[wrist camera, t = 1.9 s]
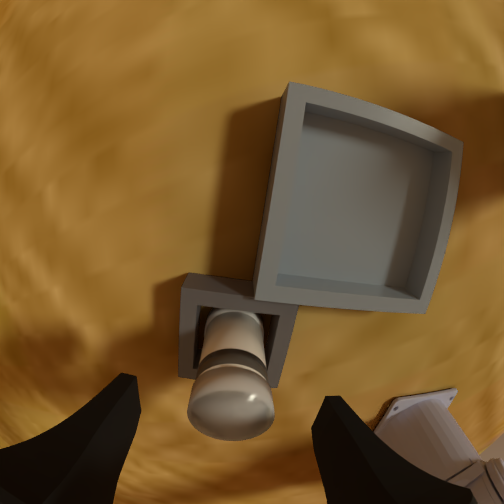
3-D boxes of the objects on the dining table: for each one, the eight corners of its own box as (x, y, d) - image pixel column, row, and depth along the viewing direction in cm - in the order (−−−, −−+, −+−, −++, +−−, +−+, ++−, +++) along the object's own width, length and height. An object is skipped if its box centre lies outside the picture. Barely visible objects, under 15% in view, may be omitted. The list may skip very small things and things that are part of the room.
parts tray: (404, 295, 16) (425, 313, 13) (252, 279, 15) (254, 299, 13) (437, 143, 13) (463, 142, 11) (281, 96, 12) (289, 81, 10)
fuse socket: (273, 366, 17) (277, 388, 15) (184, 356, 16) (178, 376, 14) (292, 286, 15) (299, 302, 13) (188, 272, 15) (181, 287, 13)
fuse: (258, 350, 16) (266, 443, 10) (204, 343, 16) (187, 435, 9) (267, 303, 15) (282, 391, 9) (208, 295, 15) (187, 382, 9)
